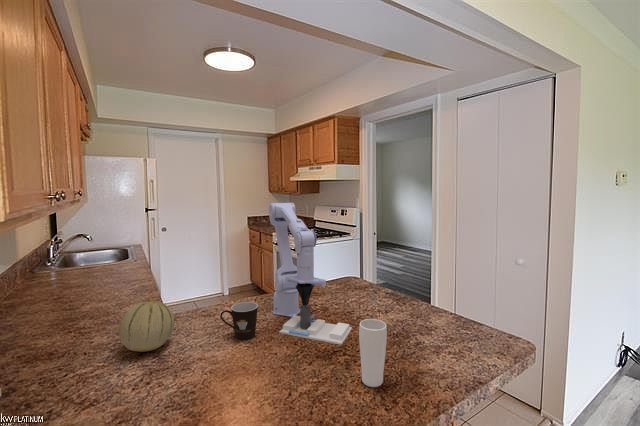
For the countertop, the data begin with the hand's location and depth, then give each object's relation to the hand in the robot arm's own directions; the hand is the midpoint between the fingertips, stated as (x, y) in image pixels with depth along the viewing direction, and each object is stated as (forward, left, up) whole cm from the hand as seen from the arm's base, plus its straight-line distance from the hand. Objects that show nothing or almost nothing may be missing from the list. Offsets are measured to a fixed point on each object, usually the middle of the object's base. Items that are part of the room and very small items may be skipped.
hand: (305, 304), depth 108 cm
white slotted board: (+4, 0, -9) cm, 10 cm away
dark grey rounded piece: (0, +3, -8) cm, 9 cm away
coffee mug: (-18, -12, -9) cm, 23 cm away
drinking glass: (+28, -21, -9) cm, 36 cm away
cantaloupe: (-39, -30, -9) cm, 50 cm away
